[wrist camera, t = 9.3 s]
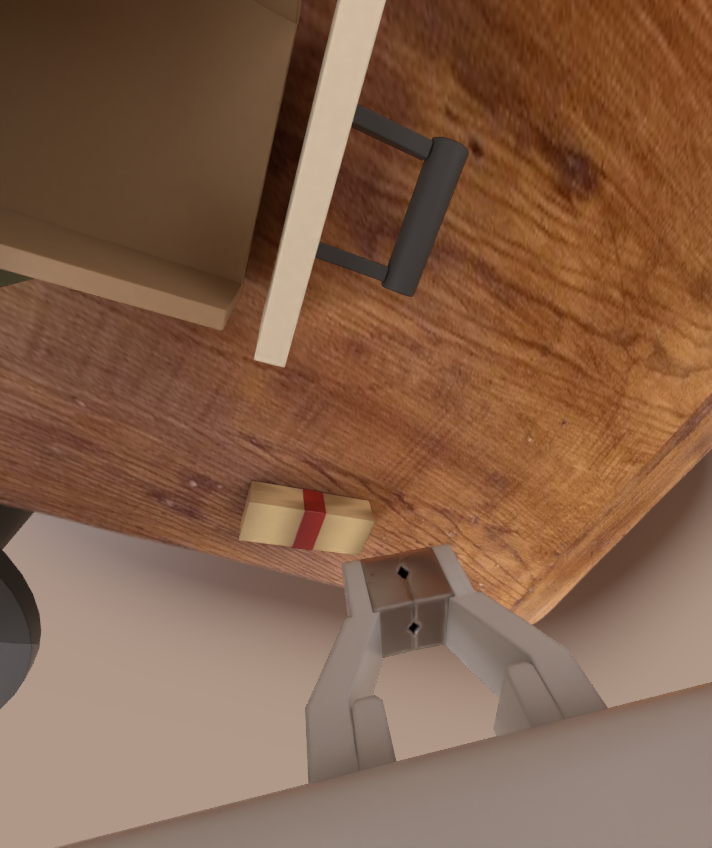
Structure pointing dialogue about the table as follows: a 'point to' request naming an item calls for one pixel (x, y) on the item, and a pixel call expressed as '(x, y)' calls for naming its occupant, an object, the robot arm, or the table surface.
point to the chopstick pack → (305, 519)
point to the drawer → (188, 153)
